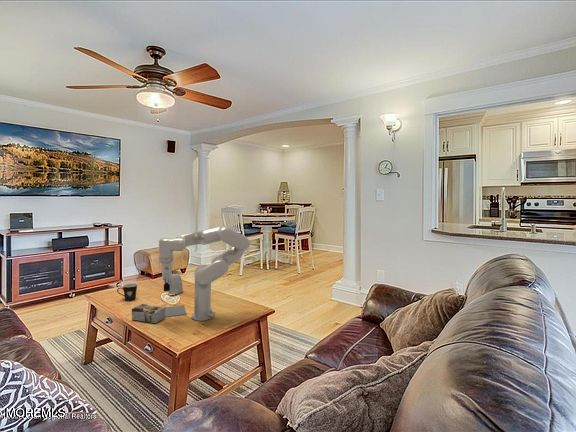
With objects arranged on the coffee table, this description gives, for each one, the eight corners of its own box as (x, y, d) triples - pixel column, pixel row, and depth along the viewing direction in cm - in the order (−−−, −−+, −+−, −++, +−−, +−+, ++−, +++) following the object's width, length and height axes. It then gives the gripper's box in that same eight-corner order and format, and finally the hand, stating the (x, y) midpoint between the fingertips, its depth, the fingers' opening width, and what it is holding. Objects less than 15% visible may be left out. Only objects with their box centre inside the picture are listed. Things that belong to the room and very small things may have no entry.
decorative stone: (178, 291, 234) (178, 271, 233) (184, 292, 232) (184, 272, 230) (167, 295, 224) (167, 274, 223) (173, 296, 222) (173, 276, 221)
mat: (186, 314, 190) (186, 314, 190) (143, 320, 181) (143, 319, 181) (184, 305, 205) (184, 305, 205) (143, 310, 195) (143, 309, 195)
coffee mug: (139, 297, 217) (139, 283, 216) (132, 302, 208) (132, 287, 208) (124, 296, 218) (124, 282, 217) (116, 301, 209) (116, 286, 209)
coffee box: (155, 312, 175) (131, 309, 179) (155, 323, 176) (131, 319, 179) (165, 306, 184) (142, 303, 188) (165, 317, 185) (142, 313, 188)
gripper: (173, 261, 174) (174, 294, 175) (172, 256, 187) (173, 286, 189) (159, 262, 171) (160, 295, 172) (159, 257, 184) (159, 287, 186)
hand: (166, 290), depth 180 cm, fingers closed
